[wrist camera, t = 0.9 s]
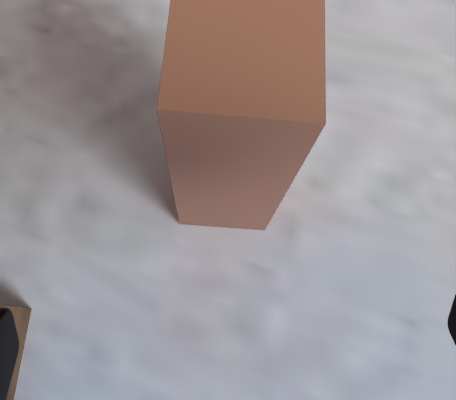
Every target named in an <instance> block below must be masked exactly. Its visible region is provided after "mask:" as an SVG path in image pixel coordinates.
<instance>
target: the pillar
mask: <svg viewBox="0 0 456 400" xmlns="http://www.w3.org/2000/svg"><path fill="white" fill-rule="evenodd" d="M157 113H158V118H159V123H160V129H161V134H162V139H163V144H164V149H165V154H166V159H167V164H168V169H169V174H170V179H171V184H172V189H173V194H174V199H175V204H176V209H177V214H178V219H179V224H187V225H201V226H214V227H228V228H241V229H255V230H265V229H266V227H267V225H268V224H269V222H270V220H271V218H272V217H273V215H274V213H275V211H276V210H277V208H278V206H279V204H280V203H281V201H282V199H283V197H284V196H285V194H286V192H287V190H288V189H289V187H290V185H291V183H292V182H293V180H294V178H295V176H296V175H297V173H298V171H299V169H300V168H301V166H302V164H303V162H304V161H305V159H306V157H307V155H308V154H309V152H310V150H311V148H312V147H313V145H314V143H315V141H316V140H317V138H318V136H319V135H320V133H321V131H322V129H323V128H324V126H325V124H326V92H325V0H170V8H169V16H168V24H167V32H166V40H165V48H164V56H163V64H162V72H161V80H160V88H159V96H158V104H157Z"/></svg>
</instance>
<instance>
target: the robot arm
mask: <svg viewBox="0 0 456 400" xmlns="http://www.w3.org/2000/svg"><path fill="white" fill-rule="evenodd" d="M448 328H449V332H450V334H451V336H452V338H453V340H454V343H455V345H456V295H455V298H454V301H453V304H452V308H451V311H450V314H449V317H448ZM18 353H19V338H18V333H17V329H16V325H15V321H14V317H13V314H12V311H11V310H10V309H9V308H0V400H6V398H7V394H8V391H9V387H10V383H11V379H12V376H13V372H14V368H15V364H16V361H17V357H18Z"/></svg>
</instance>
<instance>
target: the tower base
mask: <svg viewBox="0 0 456 400" xmlns="http://www.w3.org/2000/svg"><path fill="white" fill-rule="evenodd" d="M0 308H9V309H10V310H11V311H12V314H13V317H14V321H15V325H16V329H17V333H18V338H19V353H18V357H17V361H16V364H15V368H14V372H13V376H12V379H11V383H10V387H9V391H8V394H7V398H6V400H14V395H15V389H16V384H17V379H18V374H19V369H20V364H21V359H22V354H23V349H24V343H25V338H26V333H27V328H28V323H29V318H30V313H31V309H30V308H25V307H19V306H6V305H0Z"/></svg>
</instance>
